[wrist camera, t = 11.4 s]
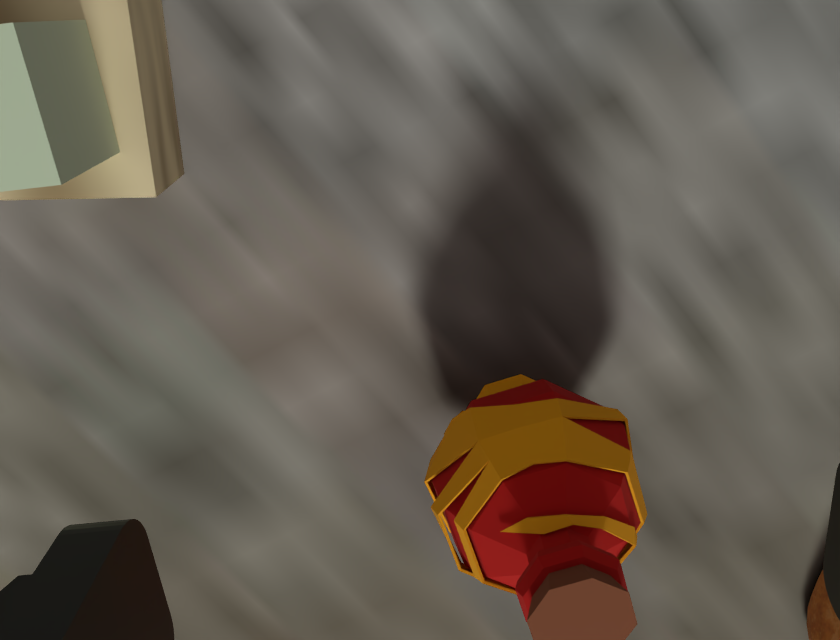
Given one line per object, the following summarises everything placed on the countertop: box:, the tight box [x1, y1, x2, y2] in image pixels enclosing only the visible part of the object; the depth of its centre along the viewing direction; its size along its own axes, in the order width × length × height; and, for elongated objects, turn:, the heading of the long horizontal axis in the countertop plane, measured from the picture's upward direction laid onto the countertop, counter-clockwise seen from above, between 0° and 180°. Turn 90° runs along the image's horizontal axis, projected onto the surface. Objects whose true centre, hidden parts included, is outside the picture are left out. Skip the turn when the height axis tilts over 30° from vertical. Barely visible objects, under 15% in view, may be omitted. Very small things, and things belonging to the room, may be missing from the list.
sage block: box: [0, 20, 120, 192], centre depth 26 cm, size 5×5×6 cm
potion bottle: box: [425, 374, 647, 640], centre depth 34 cm, size 10×10×15 cm
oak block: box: [0, 0, 184, 200], centre depth 31 cm, size 8×8×5 cm
